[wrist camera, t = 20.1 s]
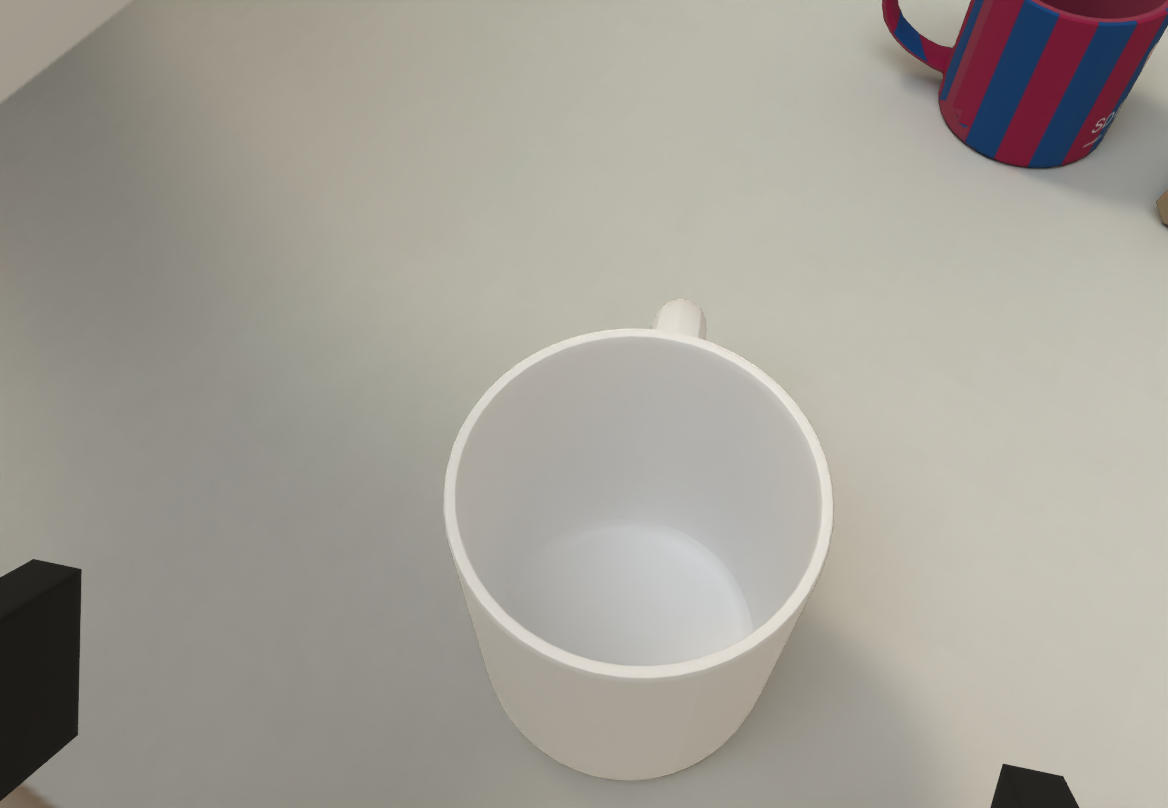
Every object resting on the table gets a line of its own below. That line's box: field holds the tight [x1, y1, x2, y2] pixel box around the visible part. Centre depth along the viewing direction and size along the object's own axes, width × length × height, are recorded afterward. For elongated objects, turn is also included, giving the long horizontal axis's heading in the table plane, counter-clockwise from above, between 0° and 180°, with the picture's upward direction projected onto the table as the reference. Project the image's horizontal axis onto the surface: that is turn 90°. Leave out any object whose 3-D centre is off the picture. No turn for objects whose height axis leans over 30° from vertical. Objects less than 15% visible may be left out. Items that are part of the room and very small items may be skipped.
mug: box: [443, 299, 834, 780], centre depth 27 cm, size 12×8×10 cm
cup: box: [882, 0, 1168, 168], centre depth 39 cm, size 7×10×7 cm
